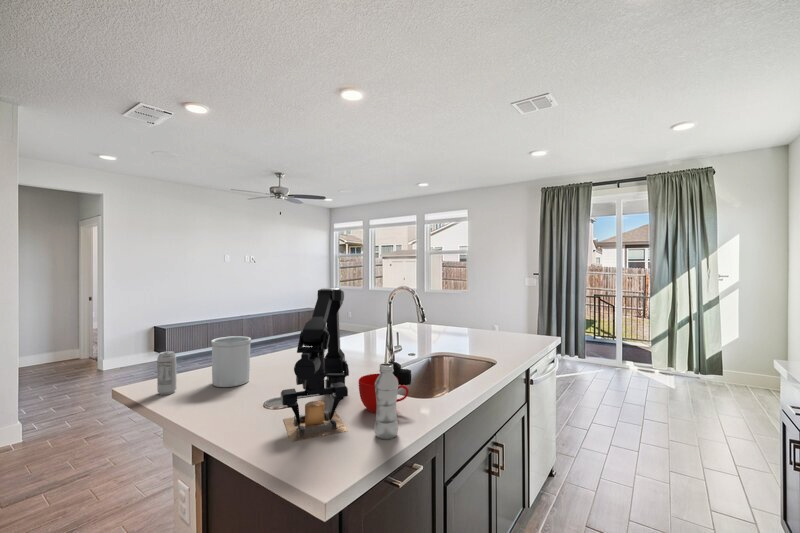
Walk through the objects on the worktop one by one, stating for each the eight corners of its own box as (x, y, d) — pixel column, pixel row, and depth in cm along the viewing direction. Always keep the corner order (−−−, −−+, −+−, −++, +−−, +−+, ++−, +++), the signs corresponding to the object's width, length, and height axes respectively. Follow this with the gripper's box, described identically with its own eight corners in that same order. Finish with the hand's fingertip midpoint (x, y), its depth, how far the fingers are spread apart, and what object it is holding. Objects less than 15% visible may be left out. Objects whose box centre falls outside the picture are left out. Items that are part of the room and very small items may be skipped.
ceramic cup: (401, 422, 113) (401, 389, 113) (351, 414, 119) (351, 383, 118) (414, 406, 125) (414, 376, 125) (368, 400, 131) (368, 371, 131)
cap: (322, 419, 113) (322, 399, 113) (326, 426, 108) (326, 406, 108) (303, 422, 111) (303, 402, 111) (306, 430, 106) (306, 409, 106)
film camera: (406, 392, 139) (406, 368, 139) (381, 391, 141) (381, 367, 141) (413, 380, 154) (413, 358, 154) (390, 378, 156) (390, 357, 156)
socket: (335, 412, 120) (335, 406, 120) (348, 432, 106) (348, 425, 106) (283, 420, 114) (283, 414, 114) (290, 443, 99) (290, 436, 99)
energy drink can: (180, 390, 142) (179, 350, 142) (168, 395, 136) (168, 354, 136) (165, 389, 143) (165, 350, 143) (153, 395, 137) (153, 354, 137)
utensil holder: (238, 374, 162) (238, 334, 162) (258, 380, 153) (258, 338, 153) (204, 383, 150) (204, 339, 150) (223, 390, 141) (223, 344, 141)
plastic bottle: (373, 432, 106) (373, 362, 106) (397, 431, 106) (397, 361, 106) (374, 443, 99) (374, 368, 99) (399, 442, 100) (399, 367, 100)
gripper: (338, 359, 121) (339, 407, 121) (278, 366, 113) (278, 417, 113) (348, 368, 111) (348, 420, 111) (282, 376, 103) (283, 432, 103)
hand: (314, 422), depth 110 cm, fingers open, 9 cm apart
